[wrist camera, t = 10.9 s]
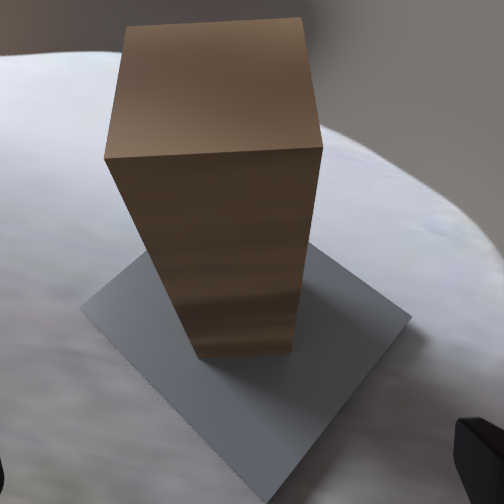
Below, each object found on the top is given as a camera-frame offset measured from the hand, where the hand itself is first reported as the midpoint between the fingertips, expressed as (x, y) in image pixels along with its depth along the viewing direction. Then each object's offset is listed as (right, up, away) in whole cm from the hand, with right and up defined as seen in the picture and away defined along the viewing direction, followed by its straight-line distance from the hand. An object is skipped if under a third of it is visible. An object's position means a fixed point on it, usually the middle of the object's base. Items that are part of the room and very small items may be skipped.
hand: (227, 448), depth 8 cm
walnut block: (0, +1, +14) cm, 14 cm away
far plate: (0, 0, +15) cm, 15 cm away
